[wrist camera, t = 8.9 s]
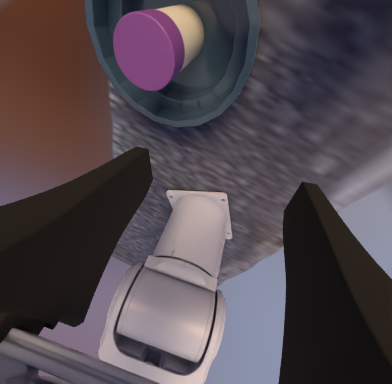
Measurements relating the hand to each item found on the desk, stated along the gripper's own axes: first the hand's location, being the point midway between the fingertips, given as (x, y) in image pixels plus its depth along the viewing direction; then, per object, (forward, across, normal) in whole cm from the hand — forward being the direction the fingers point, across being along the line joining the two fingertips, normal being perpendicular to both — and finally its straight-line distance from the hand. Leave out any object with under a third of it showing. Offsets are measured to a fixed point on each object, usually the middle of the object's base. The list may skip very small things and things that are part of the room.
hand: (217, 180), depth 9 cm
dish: (+9, +5, -4) cm, 11 cm away
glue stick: (+9, +5, -4) cm, 11 cm away
